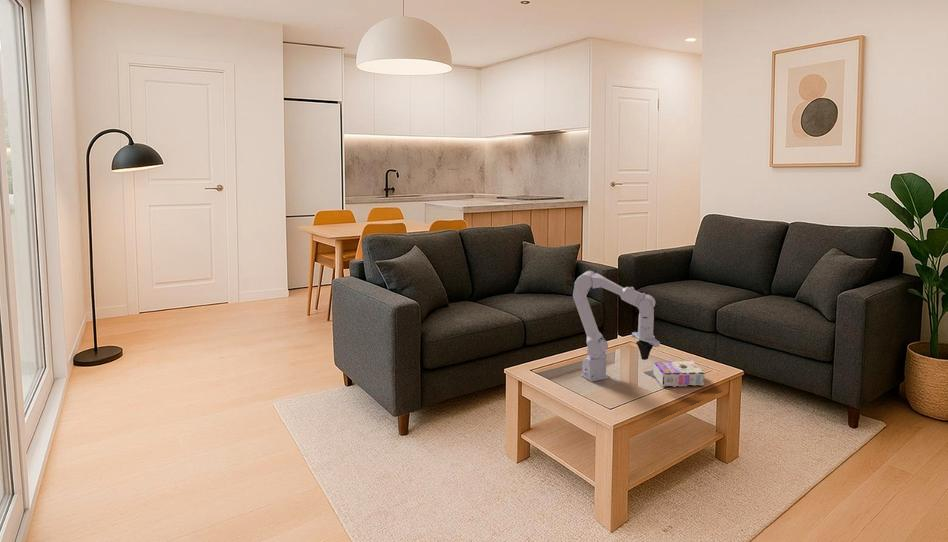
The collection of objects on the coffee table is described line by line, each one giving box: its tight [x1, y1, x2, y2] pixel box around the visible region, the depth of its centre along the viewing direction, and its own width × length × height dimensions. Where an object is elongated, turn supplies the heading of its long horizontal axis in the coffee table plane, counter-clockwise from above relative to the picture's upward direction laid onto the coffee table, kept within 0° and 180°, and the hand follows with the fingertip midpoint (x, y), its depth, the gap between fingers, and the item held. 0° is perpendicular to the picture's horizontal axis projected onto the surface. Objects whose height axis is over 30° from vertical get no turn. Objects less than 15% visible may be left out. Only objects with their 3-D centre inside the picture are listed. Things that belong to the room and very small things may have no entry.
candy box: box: [652, 360, 706, 388], centre depth 243 cm, size 14×6×16 cm
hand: (644, 359), depth 240 cm, fingers closed
